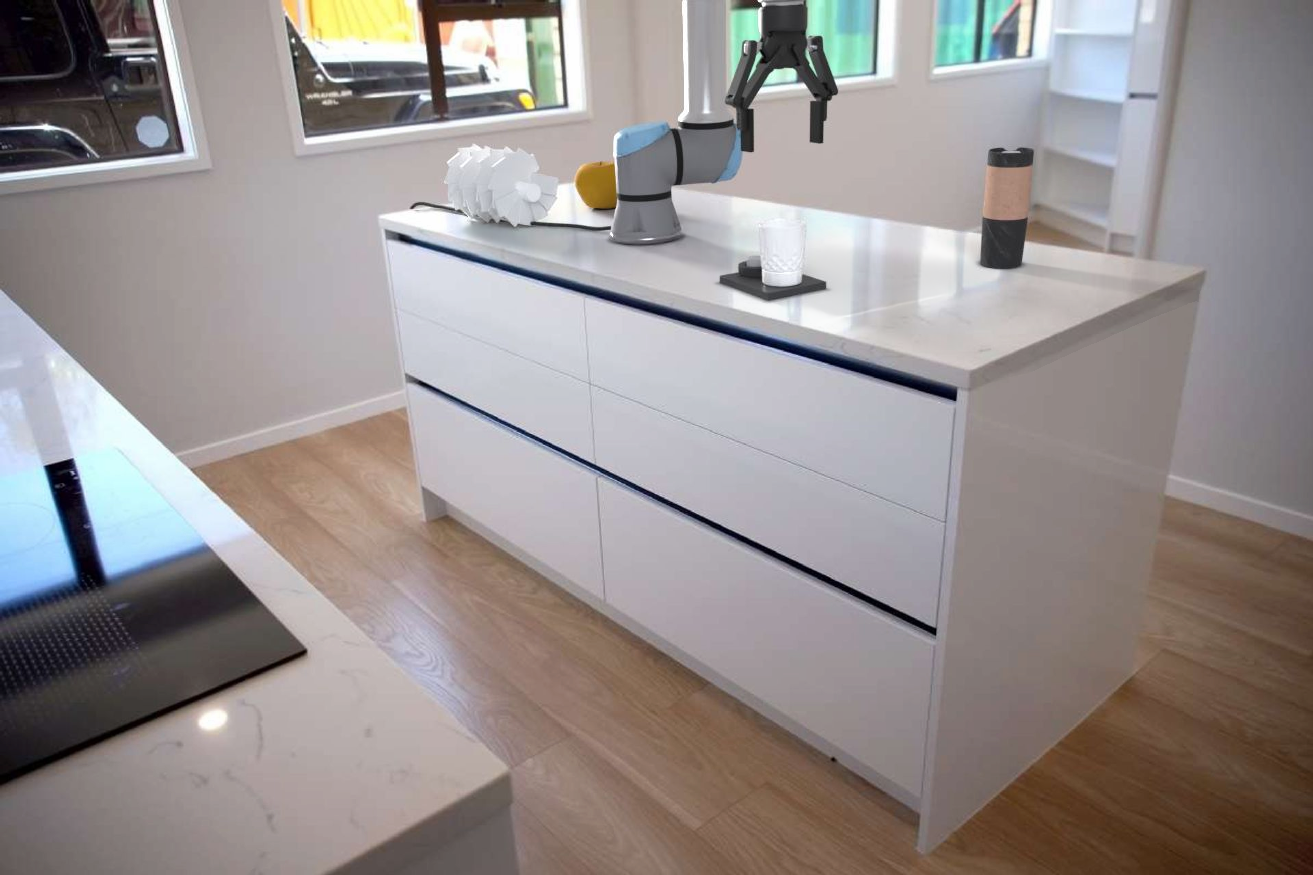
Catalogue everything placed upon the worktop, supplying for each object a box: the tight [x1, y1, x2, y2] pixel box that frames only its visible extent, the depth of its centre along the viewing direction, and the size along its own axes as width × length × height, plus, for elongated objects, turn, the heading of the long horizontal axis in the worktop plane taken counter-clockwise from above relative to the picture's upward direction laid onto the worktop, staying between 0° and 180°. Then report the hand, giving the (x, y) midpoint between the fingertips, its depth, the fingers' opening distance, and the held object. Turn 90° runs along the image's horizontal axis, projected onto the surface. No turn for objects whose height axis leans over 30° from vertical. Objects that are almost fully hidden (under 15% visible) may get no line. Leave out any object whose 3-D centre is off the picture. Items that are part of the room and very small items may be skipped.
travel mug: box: [979, 146, 1035, 270], centre depth 176 cm, size 8×8×20 cm
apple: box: [573, 160, 617, 210], centre depth 247 cm, size 13×13×11 cm
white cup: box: [758, 218, 807, 287], centre depth 168 cm, size 8×8×10 cm
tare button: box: [746, 255, 761, 267], centre depth 176 cm, size 3×3×2 cm
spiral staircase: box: [443, 142, 560, 228], centre depth 235 cm, size 18×18×25 cm
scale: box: [719, 260, 827, 302], centre depth 173 cm, size 16×12×3 cm
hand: (782, 147), depth 161 cm, fingers open, 13 cm apart
